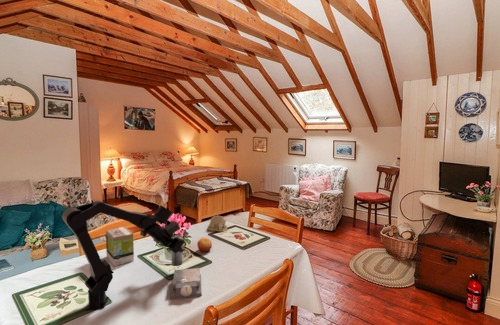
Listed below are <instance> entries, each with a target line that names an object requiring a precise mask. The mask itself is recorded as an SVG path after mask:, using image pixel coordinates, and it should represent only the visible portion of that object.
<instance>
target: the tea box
mask: <svg viewBox="0 0 500 325" xmlns="http://www.w3.org/2000/svg"><path fill="white" fill-rule="evenodd" d="M105 244H106V245H105V247H106V248H105V249H106V257H107V259H108V261H110V263H111V264H112V266H114V267H116V266H120V265H123V264H127V263H131V262H134V261H135V253H134V252H135V251H134V249H135V248H134V247H135V246H134V233H133V232H132V231H131V230H129V229H128V228H127V227H126V226H121V227H116V228H112V229H106V230H105Z"/></svg>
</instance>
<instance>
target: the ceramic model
mask: <svg viewBox="0 0 500 325" xmlns="http://www.w3.org/2000/svg"><path fill="white" fill-rule="evenodd" d="M226 220H227V219H226V218H225V217H224V216H221V215H220V214H217V215H216V216H215V215H213V217H211V218H210V222H209V223H208V225H207V230H209V231H215V232H227V231H228V226H227V225H226V222H227V221H226Z"/></svg>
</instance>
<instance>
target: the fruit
mask: <svg viewBox="0 0 500 325" xmlns="http://www.w3.org/2000/svg"><path fill="white" fill-rule="evenodd" d="M212 245H213V243H212V240H210V238H208V237H201V238H200V239H199V240H198V241H197V251H198V250H199V251H200V252H202V253H206V252H207V251H210V250H211V249H212V247H213V246H212Z"/></svg>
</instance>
